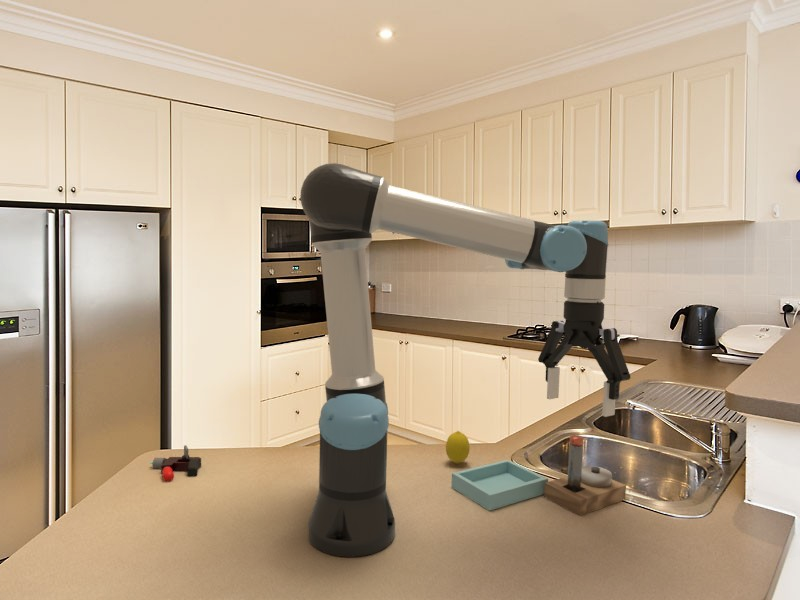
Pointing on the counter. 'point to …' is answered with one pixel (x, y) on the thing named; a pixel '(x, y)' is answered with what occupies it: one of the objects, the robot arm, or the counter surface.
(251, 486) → the counter surface
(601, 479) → the block
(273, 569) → the counter surface
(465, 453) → the lemon
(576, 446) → the pin
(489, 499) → the tray
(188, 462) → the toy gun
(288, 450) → the counter surface
